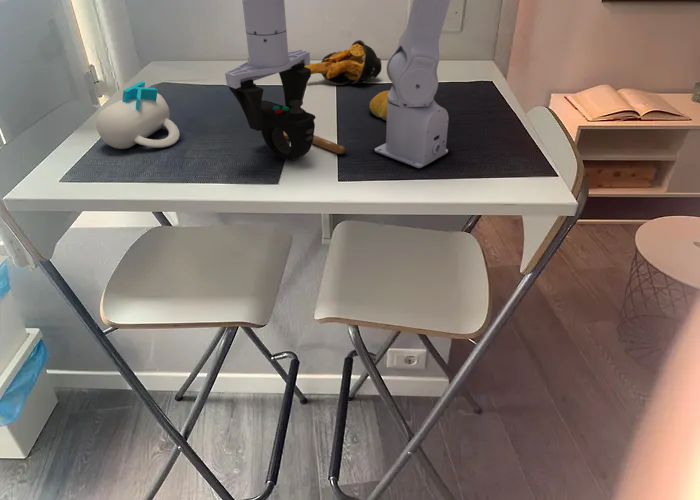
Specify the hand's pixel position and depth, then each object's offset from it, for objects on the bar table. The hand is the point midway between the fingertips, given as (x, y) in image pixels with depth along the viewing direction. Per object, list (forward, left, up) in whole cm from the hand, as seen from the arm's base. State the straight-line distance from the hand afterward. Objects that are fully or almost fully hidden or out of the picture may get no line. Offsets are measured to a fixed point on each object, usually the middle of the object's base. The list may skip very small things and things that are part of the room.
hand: (274, 121), depth 88 cm
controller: (0, -1, -7) cm, 7 cm away
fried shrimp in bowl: (+18, -33, -7) cm, 38 cm away
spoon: (+1, -8, -6) cm, 10 cm away
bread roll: (-2, -27, -7) cm, 28 cm away
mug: (+22, +11, -7) cm, 26 cm away
